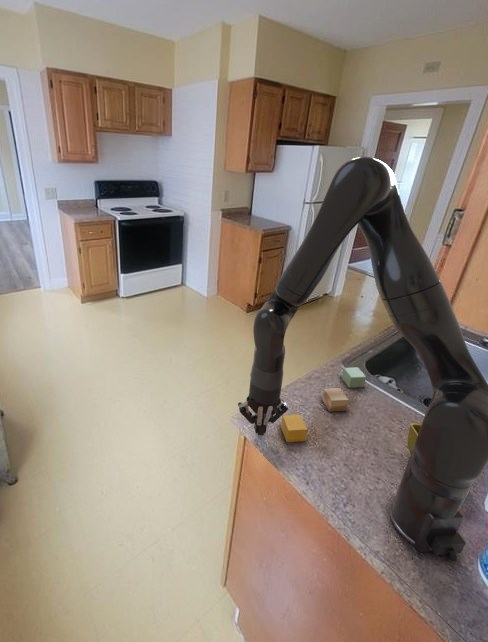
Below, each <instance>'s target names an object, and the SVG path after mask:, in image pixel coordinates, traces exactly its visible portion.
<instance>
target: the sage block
mask: <svg viewBox="0 0 488 642" xmlns="http://www.w3.org/2000/svg"><path fill="white" fill-rule="evenodd" d="M341 379H342V381H343V382H344V384H346V387H348V388H349V389H350V388H352V389H353V388H364V387H365V383H366V379H367V376H366V375H365V374H364V373H363V371H362V370H361V369H360V368H359V367H343V368H342V374H341Z"/></svg>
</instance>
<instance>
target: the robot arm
mask: <svg viewBox="0 0 488 642" xmlns="http://www.w3.org/2000/svg"><path fill="white" fill-rule="evenodd" d="M334 173H335V174H334V175H333V177H332V180H331V182H330V184H329V185H328V186H329V187H327V188H328V189H327V191H326V193H325V195H324V198H323V200H322V202H321V205H320V208H319V209H318V212H317V214H316V216H315V219H314V220H313V223H312V224H311V226H310V228H309V230H308V232H307V233H306V235H305V237H304V239H303V241H302V242H301V244H300V245H299V247H298V249H297V251H296V252H295V254H294V255H293V256H292V259H291V260H290V262H289V263H288V264H287V266H286V268H285V270H284V271H283V272H282V274H281V276H280V277H279V279H278V281H277V283H276V285H275V288H274V289H273V291H272V293H271V294H270V295H269V296H268V298H267V300H266V301H265V302H264V304H263V305H262V307H261V308H260V309H259V310H258V312H257V313H256V314H255V317H254V320H253V327H252V333H253V342H254V349H253V350H254V351H253V359H252V365H251V369H250V374H249V375H250V377H249V378H250V380H249V390H248V395H247V397H246V399H245V400H246V401H243V402H241V401H240V402H238V403H237V407H238V410H239V413H240V414H241V415H242V416H243V417H244V419H246V420H247V421H248V422H249V424H251V425H254V426H253V429H254V432H255V434H257V436H264V435H265V434H266V433H267V428H268V427H267V426H268V424H270V423H271V424H275V423H276V422H277V421H278V419H280V418H282V416H284V415H285V413H286V412H287V411H289V407H288V404H287V402H286V400H284V399H282V398H281V393H282V386H283V379H284V364H285V356H286V346H285V344H284V343H285V337H286V332H287V329H288V327H289V325H290V324H291V322H292V320H293V318H294V317H295V315H296V313H297V312H298V310H299V309H300V307H301V306H302V305H303V304H304V303H305V302H306V301H307V300H308V299H309V298H310V297H311V295H312V294H313V292H314V291H315V289H316V288H317V286H318V285H319V284H320V282H321V281H322V279H323V278H324V276H325V274H326V273H327V271H328V269H329V267H330V265H331V263H332V261H333V259H334V257H335V256H336V254H337V252H338V250H339V248H340V247H341V245H342V243H343V242H344V241H345V239H346V238H347V237H348V235H349V234H350V233H351V232H352V231H353V229H355V227H356V226H357V225H358V227H359V229H360V231H361V233H362V234H363V237H364V239H365V242H366V244H367V245H366V246H367V248H368V252H369V257H370V262H371V269H372V273H373V278H374V282H375V285H376V290H377V292H378V295H379V297H380V299H381V300H380V301H381V303H382V304H383V307H384V309H385V310H386V313H387V315H388V317H389V319H390V322H391V323H392V325H393V326H394V328H395V329H396V330H397V332H398V333H399V334H400V335H401V336H402V337H403V339H404V340H406V342H407V343H409V345H410V346H411V347H412V348H413V349H414V350H415V351H416V353H417V354H418V356H419V357H420V359H421V361H422V363H423V365H424V367H425V371H426V373H427V376H428V378H429V381H430V386H431V387H432V388H431V389H432V397H431V400H430V402H429V404H428V407H427V409H426V411H425V415H424V417H423V420H422V422H421V424H422V425H421V428H420V430H419V433H418V436H417V439H416V441H415V445H414V448H413V451H412V453H411V454H410V456H409V459H408V462H407V464H406V467H405V469H404V472H403V475H402V478H401V480H400V482H399V486H398V489H397V491H396V494H395V497H394V499H393V502H392V504H391V505H390V510H389V516H390V517H389V518H390V520H391V522H392V525H393V526H394V528H395V529H396V531H397V532H398V534H399V535H401V537H402V538H403V539H404V540H406V541H407V542H408V543H409V544H410V545H412V546H413V547H414V548H415V550H416V551H417V553H427V552H433V554H434V555H435V556H442V555H443V556H444V557H445V558H446V560H448V561H449V562H456V561H457V559H458V556H457V554H461V553H462V551H463V549H464V548H465V546H466V544H467V542H466V541H465V540H464V538H463V537H462V536H461V534H460V533H459V532H458V531H459V528H460V526H461V524H462V523H463V520H464V518H465V516H464V515H463V513H462V512H461V509H462V507H463V505H464V503H465V501H466V499H467V497H468V495H469V492H470V491H471V489H472V487H473V485H474V482H475V481H476V480H477V479H479V477H480V476H481V475H482V473H483V471H484V469H485V467H486V466H487V463H488V381H487V380H486V378H485V377H484V375H483V374H482V372H481V369H480V368H479V367H478V365H477V363H476V362H475V360H474V358H473V357H472V355H471V353H470V350H469V348H468V346H467V343H466V340H465V337H464V335H463V331H462V328H461V326H460V323H459V321H458V319H457V316H456V313H455V311H454V308H453V305H452V303H451V301H450V298H449V296H448V293H447V292H446V289H445V287H444V285H443V283H442V280H441V278H440V277H439V275H438V273H437V271H436V269H435V267H434V265H433V263H432V262H431V259H430V258H429V256H428V254H427V252H426V251H425V248H424V246H423V245H422V244H421V242H420V240H419V239H418V237H417V235H416V234H415V232H414V230H413V228H412V226H411V224H410V221H409V219H408V217H407V214H406V212H405V208H404V205H403V202H402V199H401V195H400V192H399V189H398V185H397V181H396V177H395V174H394V172H393V170H392V169H391V168H390V166H388V164H386V163H385V162H383V161H381V160H379V159H377V158H374V157H371V156H358V157H357V156H356V157H354V158H351V159H350V160H347V161H346V162H344V163H343V164H342V165H340V167H339V168H338V169H337V170H336V171H335V172H334ZM249 408H250V409H249ZM250 410H251V411H252V412H251V411H250ZM253 413H254V414H253Z"/></svg>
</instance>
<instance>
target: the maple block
mask: <svg viewBox="0 0 488 642" xmlns="http://www.w3.org/2000/svg"><path fill="white" fill-rule="evenodd" d="M321 400H322V402H323V403H324V405H325V407H326V408H327V410H328V412H344V411H347V408H348V403H349V399H348V397H347V396H346V394H345V393H344V391H343V390H342V389H341V388H340V387H338V388H337V387H336V388H335V387H334V388H324V389H323V393H322V398H321Z"/></svg>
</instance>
